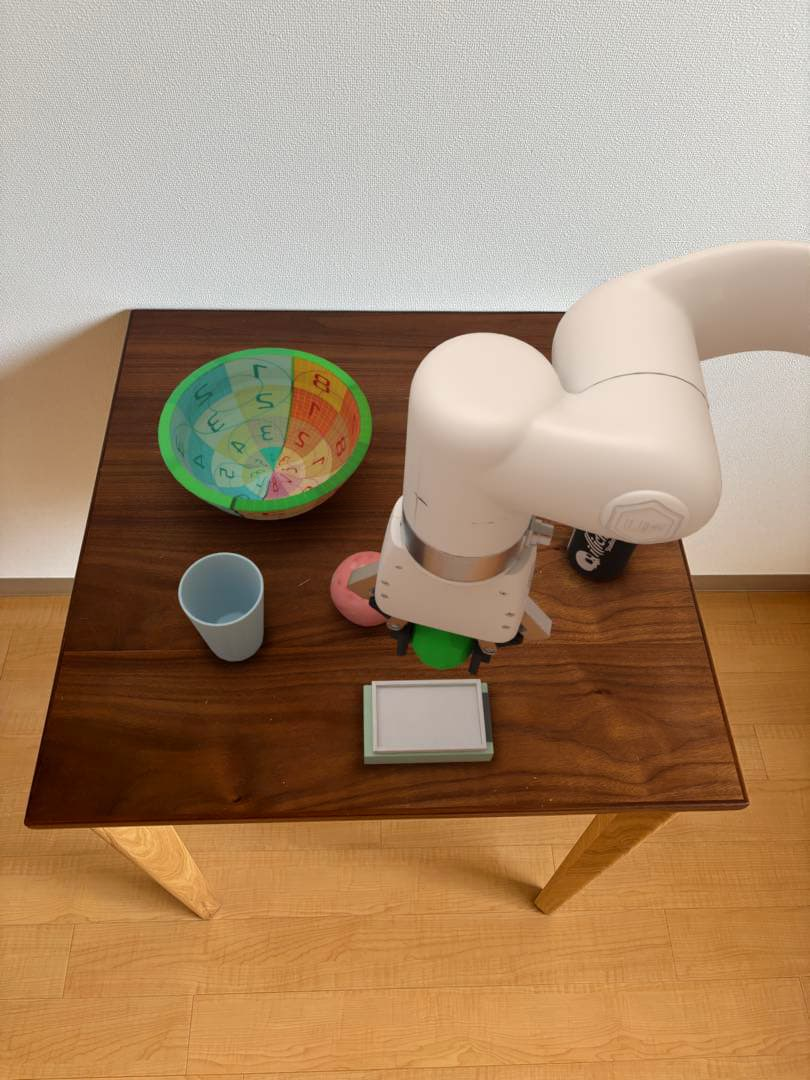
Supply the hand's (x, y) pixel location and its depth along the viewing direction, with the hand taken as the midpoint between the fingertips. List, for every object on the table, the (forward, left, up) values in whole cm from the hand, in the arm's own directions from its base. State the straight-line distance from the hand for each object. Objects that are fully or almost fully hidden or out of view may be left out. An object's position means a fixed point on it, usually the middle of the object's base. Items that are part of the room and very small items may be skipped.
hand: (440, 647), depth 64 cm
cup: (+21, -4, -18) cm, 28 cm away
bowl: (+24, -24, -18) cm, 39 cm away
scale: (0, 0, -18) cm, 18 cm away
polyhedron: (0, 0, -1) cm, 1 cm away
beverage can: (-13, -24, -18) cm, 33 cm away
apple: (+9, -11, -18) cm, 23 cm away
